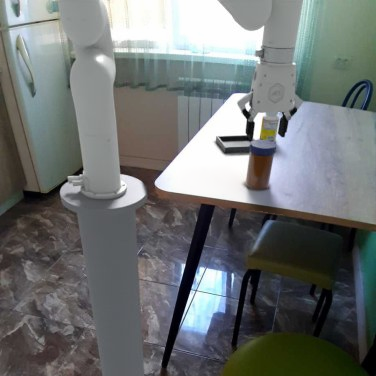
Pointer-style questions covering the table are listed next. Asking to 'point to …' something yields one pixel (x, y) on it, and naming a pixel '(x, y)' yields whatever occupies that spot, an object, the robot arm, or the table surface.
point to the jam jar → (259, 171)
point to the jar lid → (262, 147)
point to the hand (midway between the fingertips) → (265, 136)
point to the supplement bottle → (269, 126)
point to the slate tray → (234, 143)
